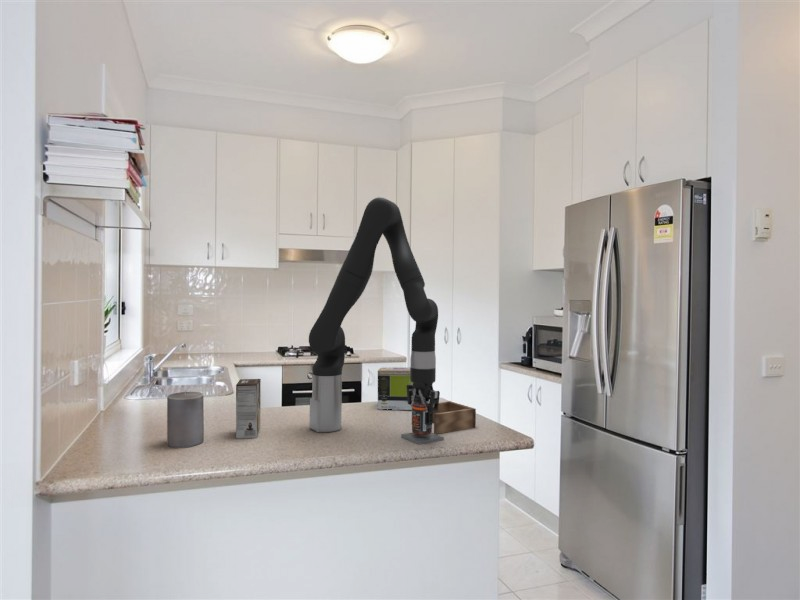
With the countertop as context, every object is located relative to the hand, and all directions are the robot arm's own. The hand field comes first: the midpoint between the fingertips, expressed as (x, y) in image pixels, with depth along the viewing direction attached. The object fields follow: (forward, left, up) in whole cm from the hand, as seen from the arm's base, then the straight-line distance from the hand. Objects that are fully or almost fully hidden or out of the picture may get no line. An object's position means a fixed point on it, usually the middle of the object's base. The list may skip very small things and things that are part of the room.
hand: (422, 422), depth 162 cm
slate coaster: (0, 0, -5) cm, 5 cm away
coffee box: (-42, +30, -5) cm, 52 cm away
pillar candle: (-60, +30, -5) cm, 68 cm away
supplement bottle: (0, 0, -3) cm, 3 cm away
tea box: (+17, +38, -5) cm, 42 cm away
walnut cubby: (+14, +8, -5) cm, 17 cm away
